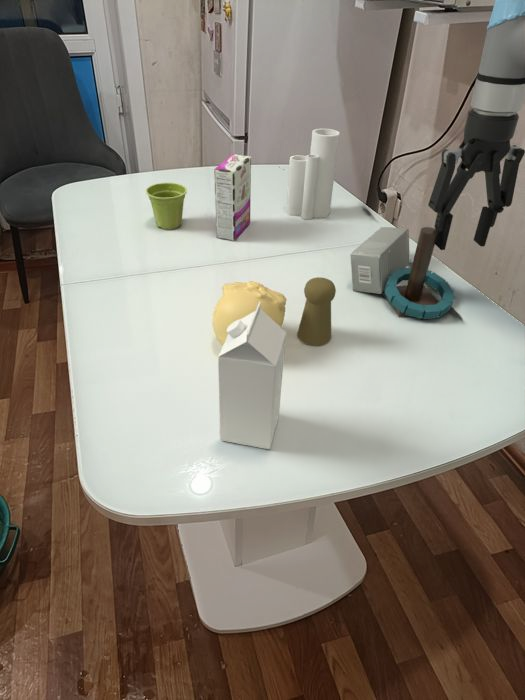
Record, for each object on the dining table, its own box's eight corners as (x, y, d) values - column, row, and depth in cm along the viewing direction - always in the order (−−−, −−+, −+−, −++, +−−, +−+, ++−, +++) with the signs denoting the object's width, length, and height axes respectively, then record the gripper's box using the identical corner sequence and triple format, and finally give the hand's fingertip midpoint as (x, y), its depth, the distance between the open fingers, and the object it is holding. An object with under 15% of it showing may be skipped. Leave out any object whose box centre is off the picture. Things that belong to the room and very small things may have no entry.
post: (422, 289, 105) (441, 219, 95) (442, 313, 98) (465, 240, 88) (381, 292, 103) (396, 221, 94) (398, 317, 96) (416, 243, 87)
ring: (434, 272, 104) (437, 265, 103) (461, 315, 96) (464, 308, 95) (376, 276, 102) (378, 269, 100) (398, 321, 94) (401, 314, 92)
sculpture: (290, 332, 91) (295, 279, 84) (263, 371, 82) (266, 315, 76) (233, 315, 94) (233, 263, 88) (201, 351, 86) (198, 296, 79)
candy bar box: (231, 220, 128) (232, 152, 117) (250, 223, 126) (252, 155, 116) (214, 238, 119) (213, 167, 109) (234, 242, 118) (235, 171, 108)
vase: (323, 206, 137) (333, 127, 124) (334, 217, 131) (344, 136, 119) (283, 209, 134) (289, 129, 122) (292, 221, 129) (299, 138, 116)
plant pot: (191, 231, 122) (189, 196, 116) (151, 234, 120) (147, 198, 114) (186, 215, 129) (184, 181, 123) (148, 218, 127) (144, 183, 121)
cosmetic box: (379, 256, 95) (412, 225, 105) (345, 253, 99) (380, 224, 109) (381, 296, 100) (413, 263, 110) (349, 292, 104) (382, 260, 114)
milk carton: (279, 414, 75) (288, 305, 63) (270, 450, 69) (277, 339, 57) (232, 406, 76) (232, 297, 64) (219, 441, 70) (217, 329, 58)
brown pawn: (325, 324, 93) (332, 271, 86) (335, 344, 89) (344, 289, 82) (293, 327, 92) (298, 273, 85) (302, 347, 88) (308, 292, 81)
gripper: (537, 102, 84) (498, 232, 98) (424, 107, 81) (399, 240, 95) (567, 113, 78) (520, 249, 92) (445, 119, 75) (416, 259, 89)
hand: (459, 244), depth 94 cm, fingers open, 7 cm apart
